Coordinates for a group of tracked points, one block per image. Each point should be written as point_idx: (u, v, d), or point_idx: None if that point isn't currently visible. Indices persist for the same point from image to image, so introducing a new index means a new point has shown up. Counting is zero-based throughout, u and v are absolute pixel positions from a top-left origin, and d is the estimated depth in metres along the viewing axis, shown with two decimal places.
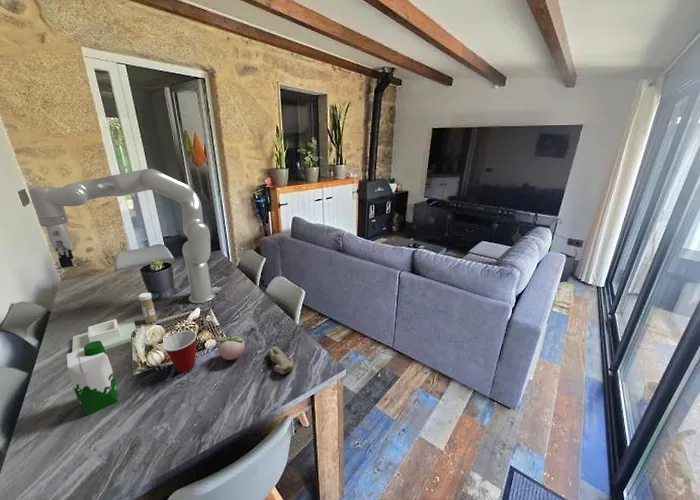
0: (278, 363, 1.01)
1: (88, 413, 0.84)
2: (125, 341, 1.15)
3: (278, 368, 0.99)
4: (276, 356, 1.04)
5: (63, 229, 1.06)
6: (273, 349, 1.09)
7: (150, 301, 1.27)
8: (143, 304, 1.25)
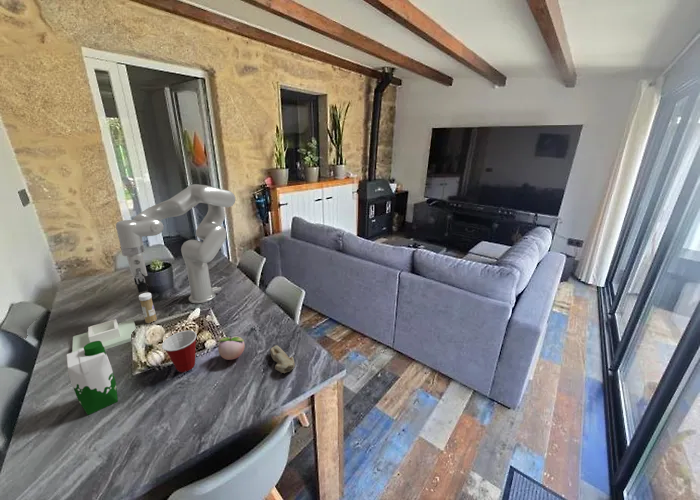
0: (279, 362, 1.02)
1: (88, 413, 0.84)
2: (125, 341, 1.15)
3: (279, 367, 0.99)
4: (277, 355, 1.04)
5: (142, 258, 1.18)
6: (274, 348, 1.10)
7: (150, 301, 1.27)
8: (143, 304, 1.25)
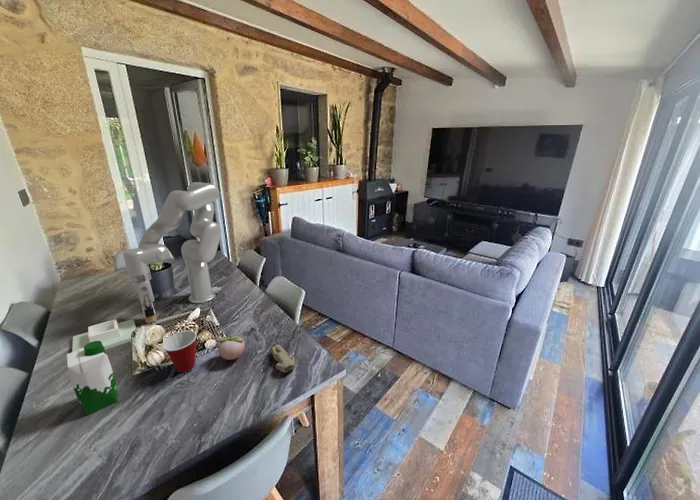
0: (280, 361, 1.02)
1: (88, 413, 0.84)
2: (125, 341, 1.15)
3: (279, 366, 1.00)
4: (278, 354, 1.05)
5: (149, 284, 1.23)
6: (276, 347, 1.10)
7: None
8: None
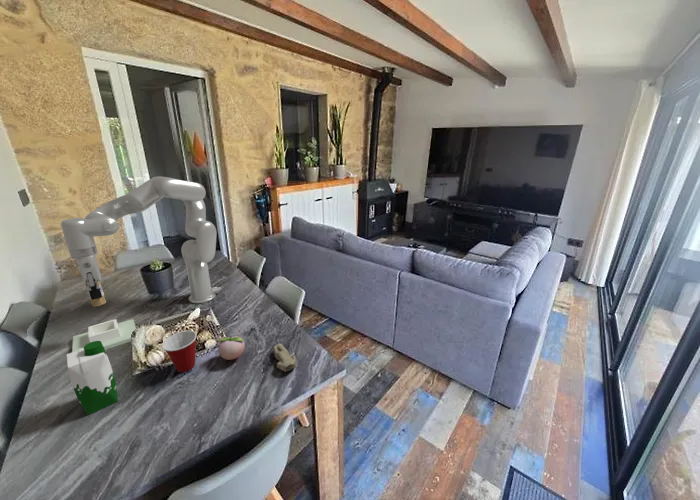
0: (281, 360, 1.03)
1: (88, 413, 0.84)
2: (125, 341, 1.15)
3: (280, 365, 1.00)
4: (279, 353, 1.05)
5: (93, 260, 1.05)
6: (277, 346, 1.11)
7: None
8: (87, 284, 1.08)
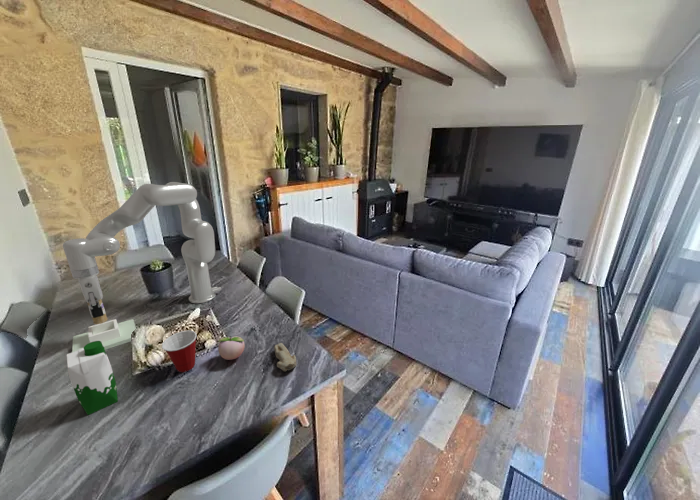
0: (281, 360, 1.03)
1: (88, 413, 0.84)
2: (125, 341, 1.15)
3: (280, 365, 1.00)
4: (280, 353, 1.06)
5: (95, 280, 1.07)
6: (278, 346, 1.11)
7: None
8: None
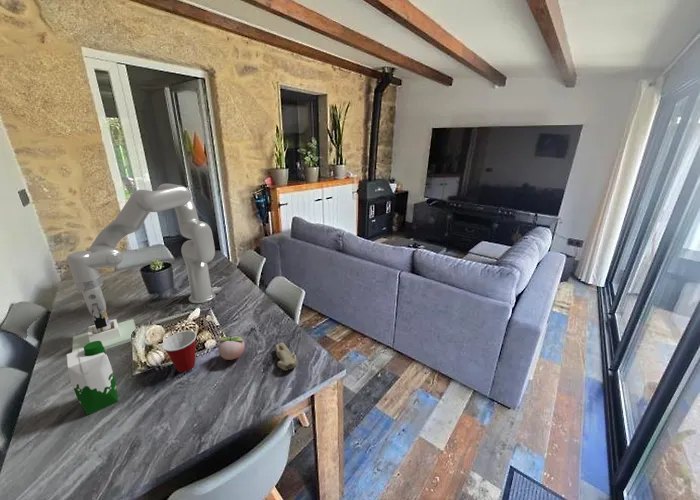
0: (281, 359, 1.03)
1: (88, 413, 0.84)
2: (125, 341, 1.15)
3: (280, 364, 1.01)
4: (280, 352, 1.06)
5: (98, 292, 1.09)
6: (279, 345, 1.12)
7: (104, 314, 1.14)
8: None
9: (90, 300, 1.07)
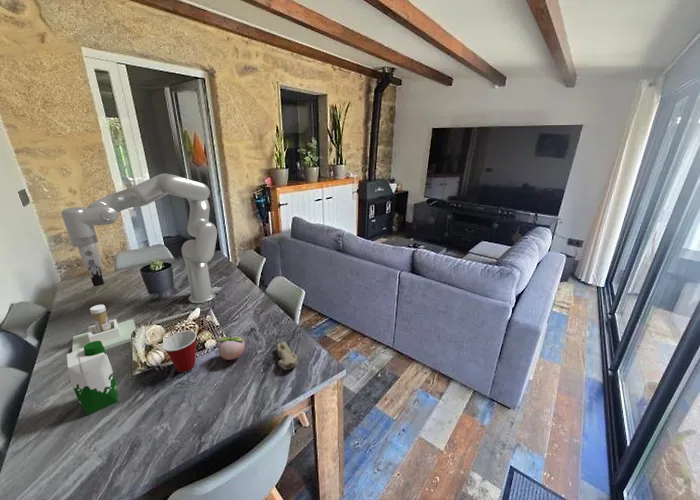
0: (282, 358, 1.04)
1: (88, 413, 0.84)
2: (125, 341, 1.15)
3: (281, 363, 1.01)
4: (281, 351, 1.06)
5: (95, 248, 1.08)
6: (281, 344, 1.12)
7: (103, 314, 1.14)
8: (95, 318, 1.12)
9: (86, 256, 1.07)
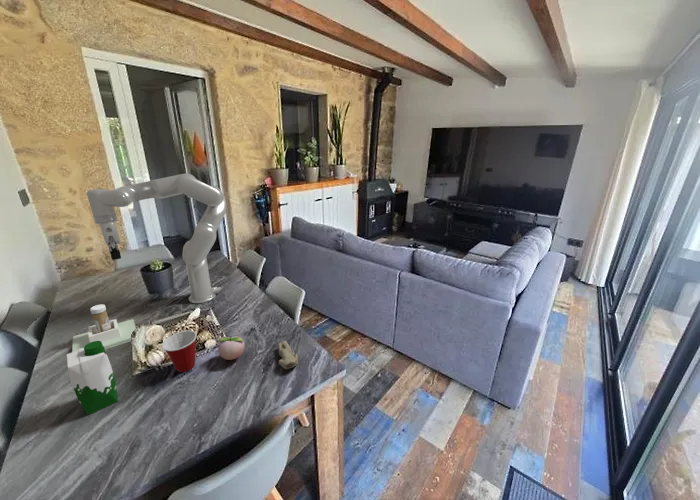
0: (283, 358, 1.04)
1: (88, 413, 0.84)
2: (125, 341, 1.15)
3: (281, 362, 1.02)
4: (282, 351, 1.07)
5: (114, 226, 1.22)
6: (282, 343, 1.13)
7: (104, 314, 1.14)
8: (95, 317, 1.12)
9: (107, 232, 1.21)
